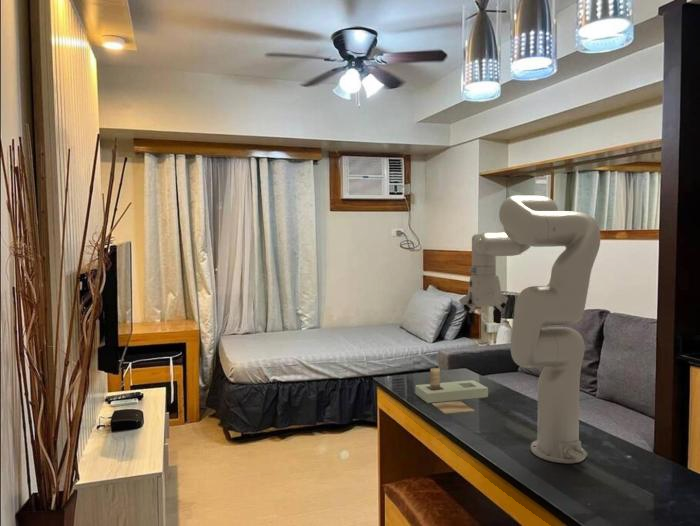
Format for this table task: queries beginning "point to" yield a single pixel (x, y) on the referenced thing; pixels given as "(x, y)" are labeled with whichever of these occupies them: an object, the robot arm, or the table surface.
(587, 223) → the robot arm
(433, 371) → the peg
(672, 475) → the table surface
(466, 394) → the hole block
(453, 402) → the cork mat
